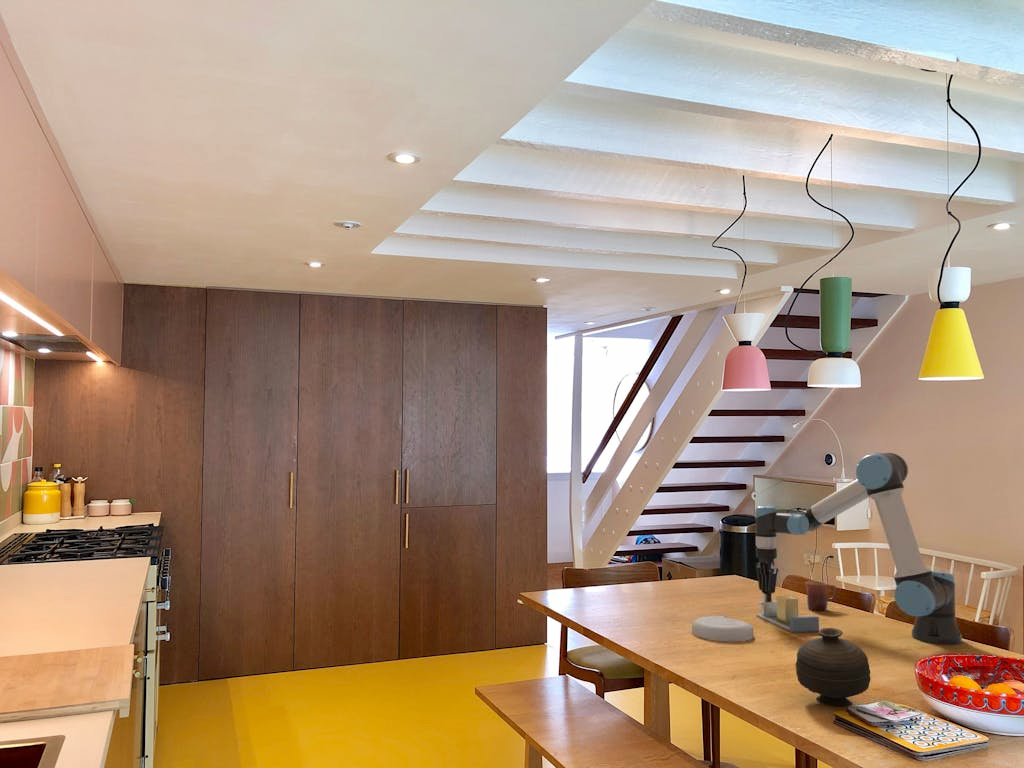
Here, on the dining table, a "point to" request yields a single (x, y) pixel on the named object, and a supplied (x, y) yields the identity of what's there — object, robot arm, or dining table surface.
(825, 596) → the mug
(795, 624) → the vise body
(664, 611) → the dining table surface
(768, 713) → the dining table surface
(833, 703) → the pot
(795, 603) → the brass block
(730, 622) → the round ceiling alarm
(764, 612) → the slide jaw
